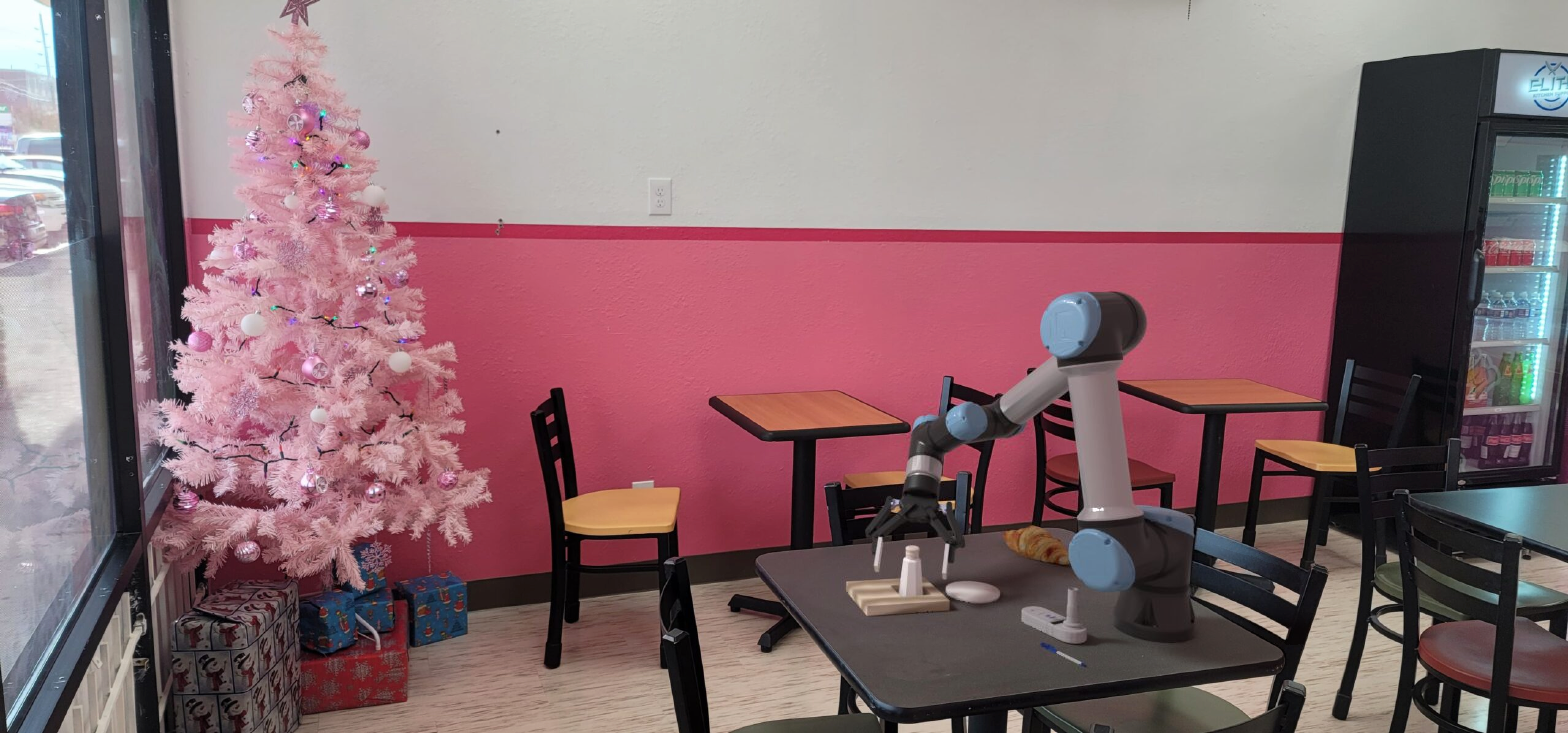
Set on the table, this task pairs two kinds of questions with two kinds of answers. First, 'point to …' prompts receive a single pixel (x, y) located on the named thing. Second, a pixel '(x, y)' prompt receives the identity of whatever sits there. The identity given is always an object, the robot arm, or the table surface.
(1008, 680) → the table surface
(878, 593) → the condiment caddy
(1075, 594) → the electronic device
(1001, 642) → the table surface
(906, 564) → the pepper shaker
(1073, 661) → the ballpoint pen
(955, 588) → the saucer
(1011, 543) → the croissant
